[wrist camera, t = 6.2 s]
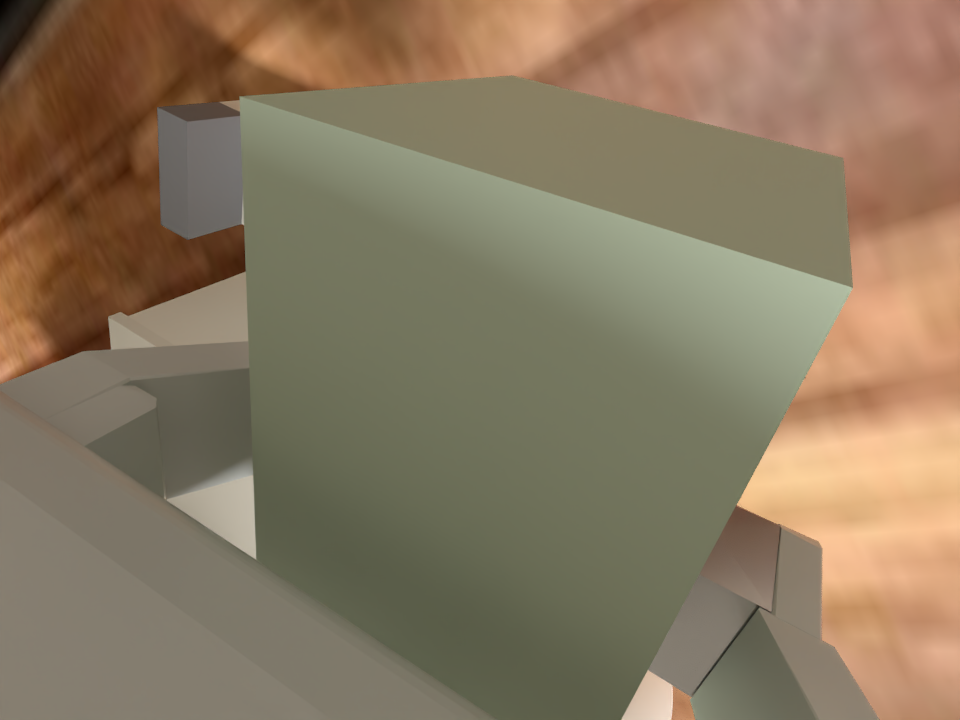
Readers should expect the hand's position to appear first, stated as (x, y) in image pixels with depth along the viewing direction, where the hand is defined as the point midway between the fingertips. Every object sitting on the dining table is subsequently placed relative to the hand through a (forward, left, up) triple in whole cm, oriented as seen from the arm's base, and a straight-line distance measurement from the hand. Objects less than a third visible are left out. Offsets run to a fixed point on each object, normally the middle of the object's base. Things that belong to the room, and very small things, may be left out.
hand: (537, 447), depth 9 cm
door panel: (0, 0, -2) cm, 2 cm away
